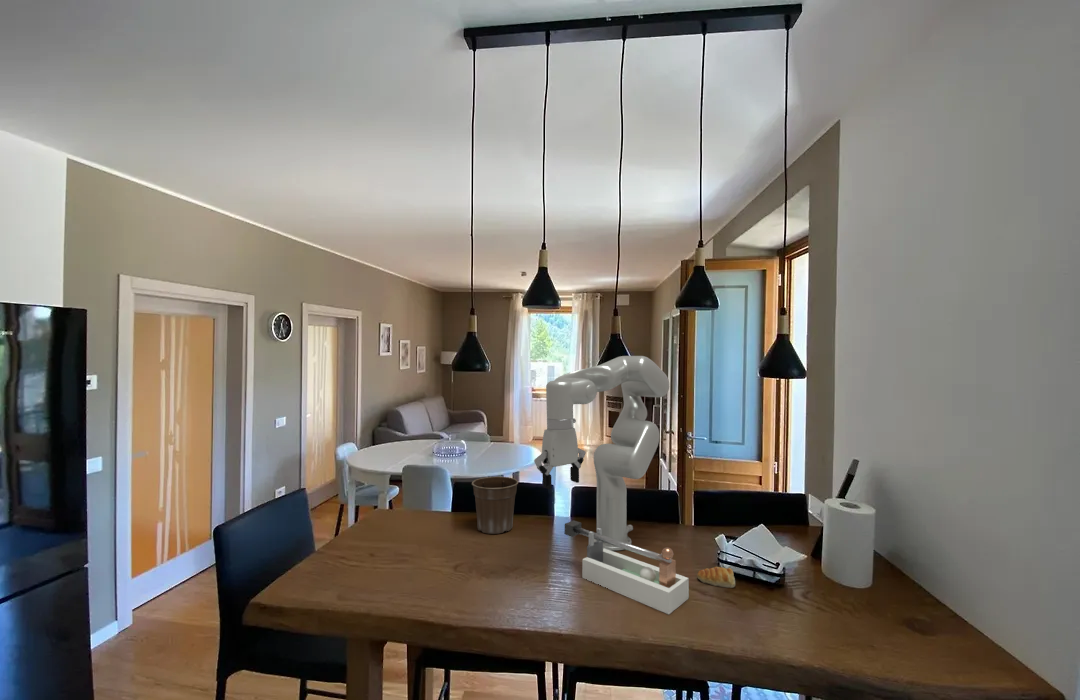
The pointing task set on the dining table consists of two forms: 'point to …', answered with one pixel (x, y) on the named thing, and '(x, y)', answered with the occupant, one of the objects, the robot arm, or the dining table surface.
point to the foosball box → (631, 578)
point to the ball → (648, 574)
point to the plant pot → (495, 503)
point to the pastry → (717, 577)
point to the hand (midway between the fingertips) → (561, 484)
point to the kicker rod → (665, 567)
